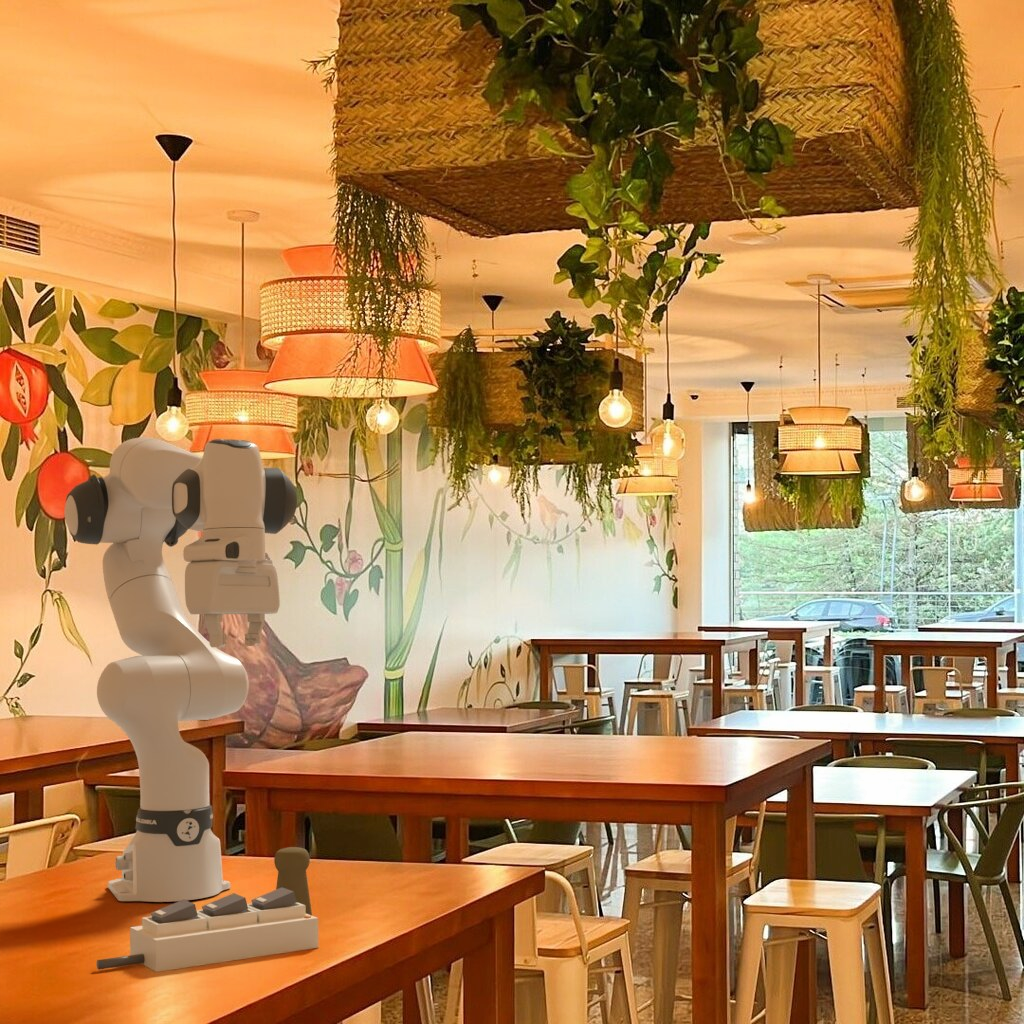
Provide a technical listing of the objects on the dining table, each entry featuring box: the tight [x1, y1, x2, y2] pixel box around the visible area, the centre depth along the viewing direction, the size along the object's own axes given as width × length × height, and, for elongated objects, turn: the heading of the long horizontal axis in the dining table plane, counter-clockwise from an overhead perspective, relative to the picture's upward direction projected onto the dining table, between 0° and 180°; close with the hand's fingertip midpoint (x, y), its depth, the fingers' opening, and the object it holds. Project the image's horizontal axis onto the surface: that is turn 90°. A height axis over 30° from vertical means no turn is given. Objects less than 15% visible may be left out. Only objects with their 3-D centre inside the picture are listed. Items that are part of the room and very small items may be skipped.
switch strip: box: [96, 902, 319, 973], centre depth 208 cm, size 10×29×6 cm, turn 123°
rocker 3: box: [251, 887, 297, 910], centre depth 213 cm, size 4×5×2 cm
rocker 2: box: [201, 893, 248, 917], centre depth 209 cm, size 4×5×2 cm
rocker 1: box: [150, 900, 198, 924], centre depth 206 cm, size 4×5×2 cm
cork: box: [273, 846, 313, 916], centre depth 228 cm, size 6×6×11 cm
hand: (235, 646), depth 221 cm, fingers open, 8 cm apart
